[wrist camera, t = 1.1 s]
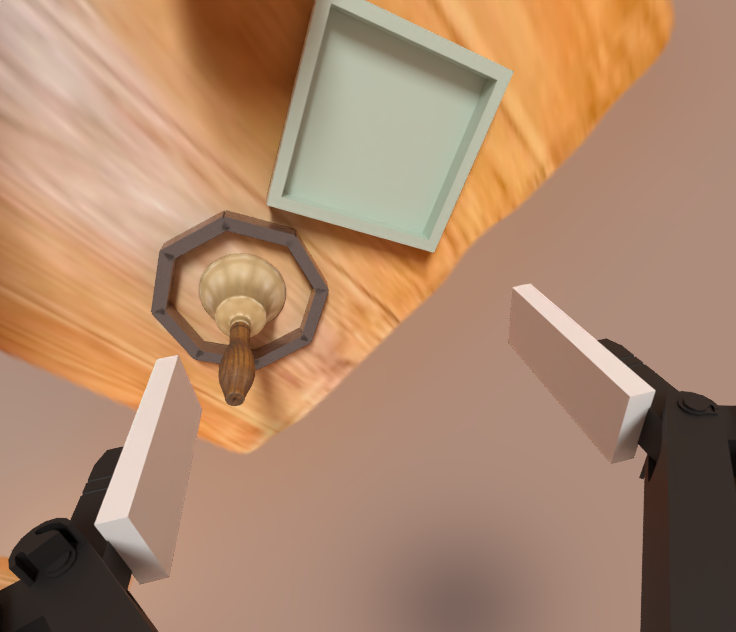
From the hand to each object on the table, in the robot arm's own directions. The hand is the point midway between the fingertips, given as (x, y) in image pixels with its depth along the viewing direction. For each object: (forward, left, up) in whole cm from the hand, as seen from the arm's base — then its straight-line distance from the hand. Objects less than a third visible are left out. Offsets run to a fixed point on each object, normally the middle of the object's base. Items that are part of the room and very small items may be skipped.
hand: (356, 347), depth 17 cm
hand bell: (-3, -12, -26) cm, 29 cm away
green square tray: (+5, +6, -26) cm, 27 cm away
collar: (-3, -12, -26) cm, 28 cm away
